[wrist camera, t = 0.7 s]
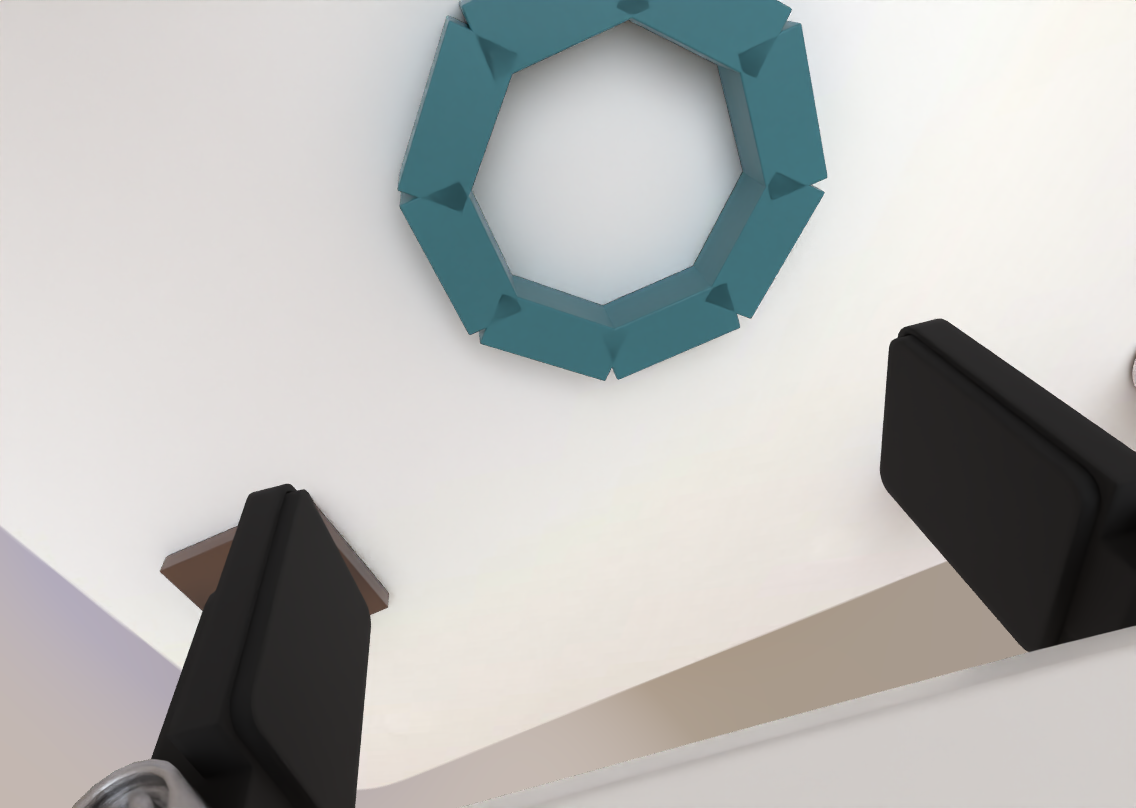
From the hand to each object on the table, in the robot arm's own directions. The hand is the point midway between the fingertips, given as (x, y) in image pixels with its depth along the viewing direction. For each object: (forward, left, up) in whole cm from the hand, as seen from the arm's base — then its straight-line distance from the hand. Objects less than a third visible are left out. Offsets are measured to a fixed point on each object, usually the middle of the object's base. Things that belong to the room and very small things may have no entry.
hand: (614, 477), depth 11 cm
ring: (+3, +4, -24) cm, 24 cm away
